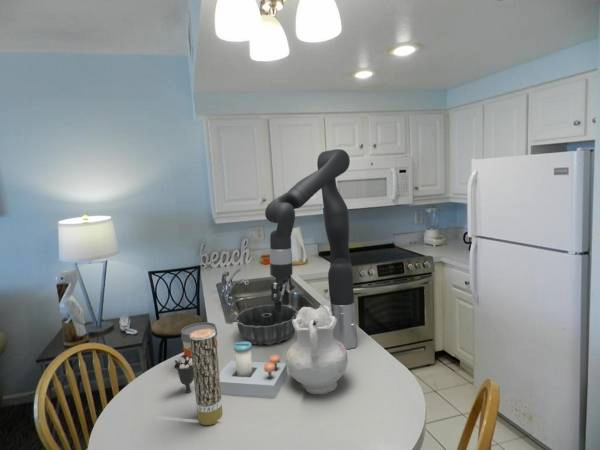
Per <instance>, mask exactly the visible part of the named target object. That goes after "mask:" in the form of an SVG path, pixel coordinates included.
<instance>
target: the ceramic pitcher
mask: <svg viewBox="0 0 600 450" xmlns="http://www.w3.org/2000/svg"><path fill="white" fill-rule="evenodd" d="M336 322H337V319H336V318H335V317H334V316H333V315H332V311H331V307H330V306H328V305H327V304H321V303H320V304H319V307H318V308H316V309H314V308H312V307H310V306H302V307H301V308H300V309H299V311H298V314H297V316H296V319H293V320H292V324H293V326H294V328H295V332H296V335H297V336H296V337H297V338H296V341H295V342H293V344H292V345H290V346H289V348H288V350H287V352H286V355H285V362H286V363H285V364H287V371H288V372H289V373H290V375H291V377H292V378H293V379H294V380H295V381H296V382H298V383H300V384H302V386H303V387H304V388H305V389H304V391H305V392H306V393H308V394H311V395H327V394H329V393H331V392H333V391H334V390H336V389H337V388H338V382H337V381H339V380H340V379H341V377H343V375H344V373H345V372H346V370H347V367H348V363H349V359H348V358H349V357H348V350H347V349H346V348H345V347H344V345H343V344H342V343H341V342H339V341H337V340H336V339H335V338H334V337H333V331H334V327H335V325H336Z"/></svg>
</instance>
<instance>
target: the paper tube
mask: <svg viewBox="0 0 600 450" xmlns="http://www.w3.org/2000/svg"><path fill="white" fill-rule="evenodd" d="M216 339H217V336H216V334H215V330H213V329H200V330H196V331H194V332H192V333H191V334H190V343H191V353H192V364H193V374H194V380H193V383H194V393H195V402H196V404H195V405H196V413H197V414H196V415H197V421H198V423H199V424H201V425H203V426H211V425H214V424H215V425H216V424H217V423H218V422H219V420H220V419H221V418H222V417H223V403H222V394H221V390H220V379H219V373H220V371H219V370H220V369H219V358H218V344H217V345H216Z"/></svg>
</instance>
